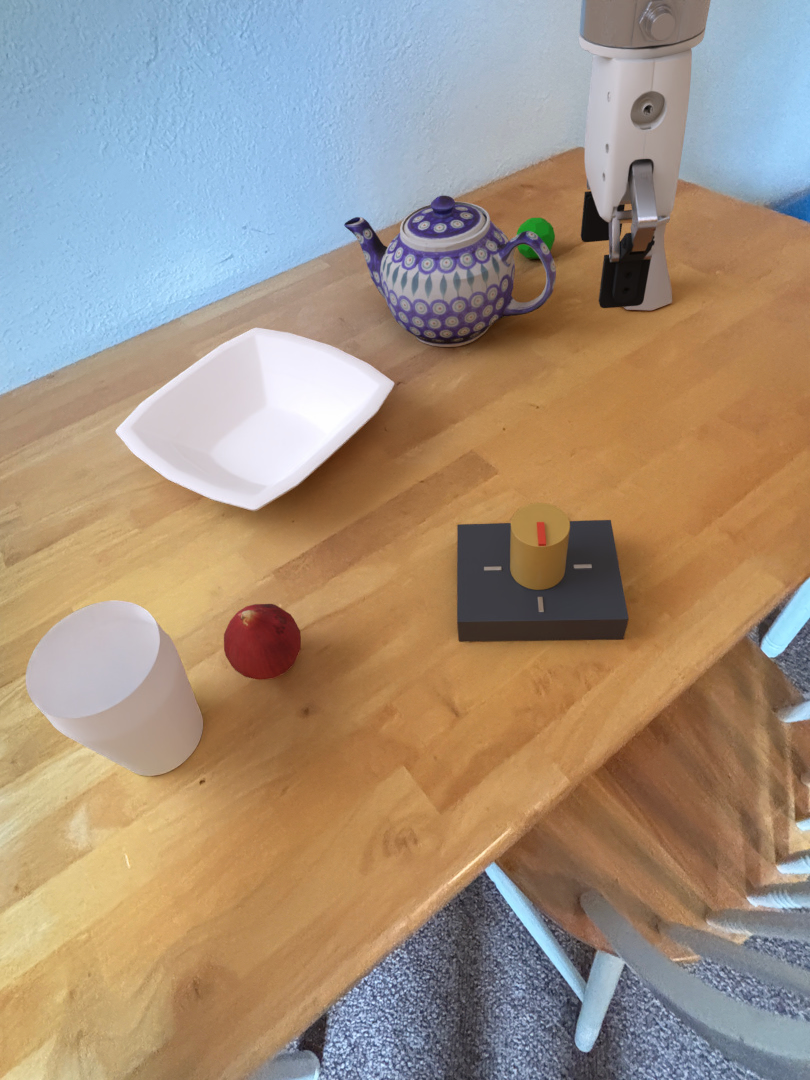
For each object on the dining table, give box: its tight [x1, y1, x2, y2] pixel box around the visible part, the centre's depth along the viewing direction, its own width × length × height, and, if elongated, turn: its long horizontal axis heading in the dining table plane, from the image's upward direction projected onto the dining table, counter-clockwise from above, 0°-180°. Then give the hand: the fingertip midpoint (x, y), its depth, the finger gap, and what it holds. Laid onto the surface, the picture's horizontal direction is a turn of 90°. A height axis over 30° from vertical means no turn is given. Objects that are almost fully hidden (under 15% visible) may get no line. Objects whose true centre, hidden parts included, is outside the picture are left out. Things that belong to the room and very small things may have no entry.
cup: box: [25, 599, 204, 777], centre depth 50 cm, size 9×9×12 cm
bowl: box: [115, 327, 395, 512], centre depth 73 cm, size 22×23×6 cm
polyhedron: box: [515, 217, 556, 260], centre depth 92 cm, size 5×5×5 cm
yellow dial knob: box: [510, 502, 571, 590], centre depth 55 cm, size 4×4×6 cm
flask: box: [623, 214, 673, 311], centre depth 81 cm, size 7×7×10 cm
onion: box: [223, 603, 302, 681], centre depth 55 cm, size 6×6×8 cm
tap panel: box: [456, 519, 630, 643], centre depth 59 cm, size 13×10×3 cm
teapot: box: [343, 195, 557, 348], centre depth 80 cm, size 25×15×15 cm, turn 63°
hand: (609, 270), depth 56 cm, fingers open, 9 cm apart
